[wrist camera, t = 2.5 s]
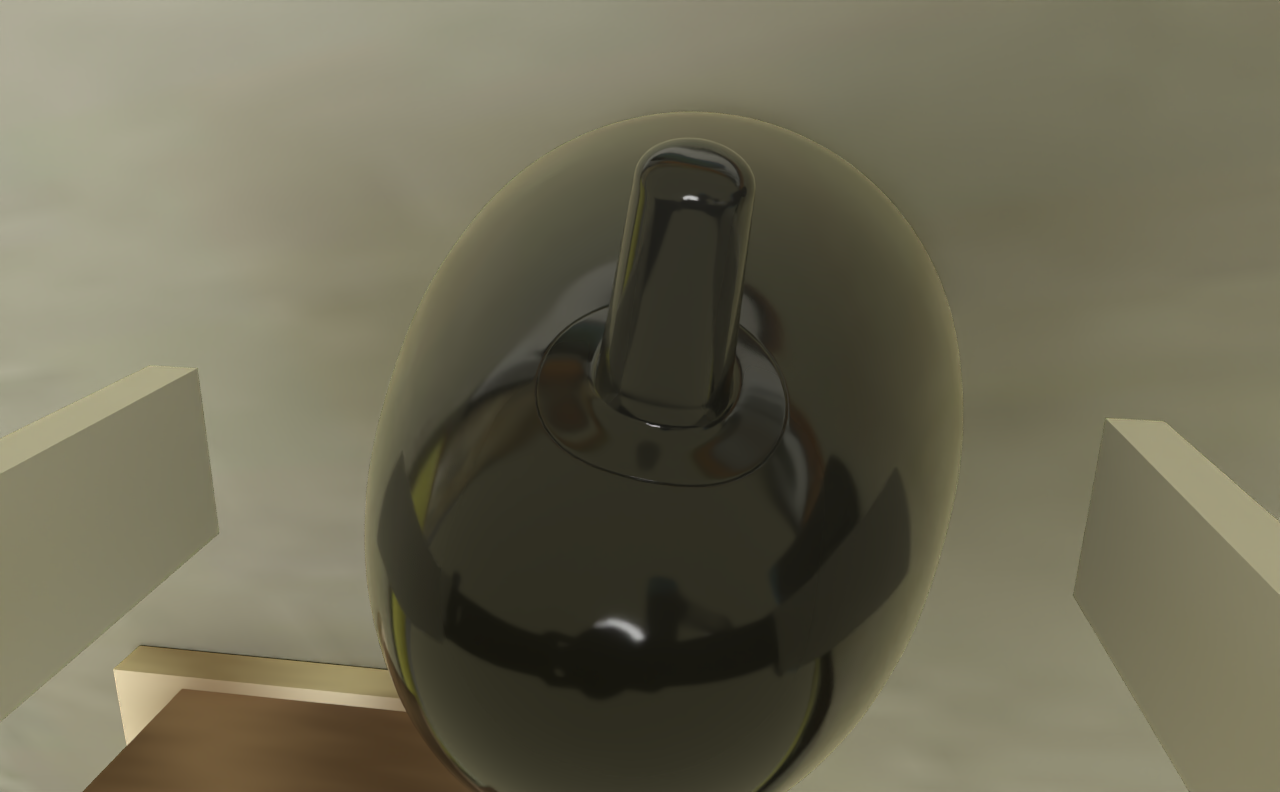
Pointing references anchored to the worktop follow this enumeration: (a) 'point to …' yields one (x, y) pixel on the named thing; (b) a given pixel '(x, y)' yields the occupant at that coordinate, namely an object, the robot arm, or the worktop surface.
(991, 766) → the worktop surface
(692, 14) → the worktop surface
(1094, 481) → the robot arm
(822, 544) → the pump dispenser
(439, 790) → the caddy
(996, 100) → the worktop surface
